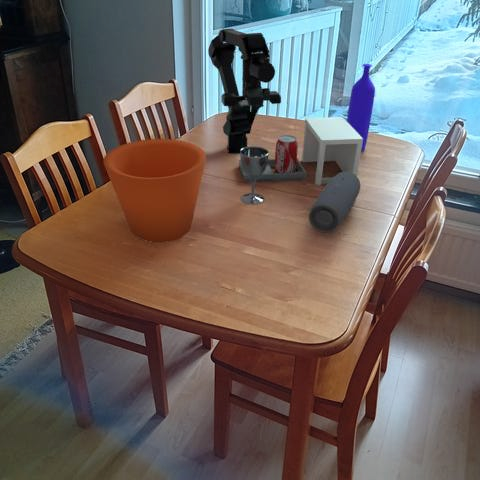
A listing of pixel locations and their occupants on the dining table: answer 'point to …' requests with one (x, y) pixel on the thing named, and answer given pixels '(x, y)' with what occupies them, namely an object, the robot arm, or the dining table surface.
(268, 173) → the tray
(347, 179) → the bluetooth speaker
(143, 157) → the flowerpot
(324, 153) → the white side table
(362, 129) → the bottle
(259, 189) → the dining table surface
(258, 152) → the wine glass
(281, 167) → the soda can
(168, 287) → the dining table surface
